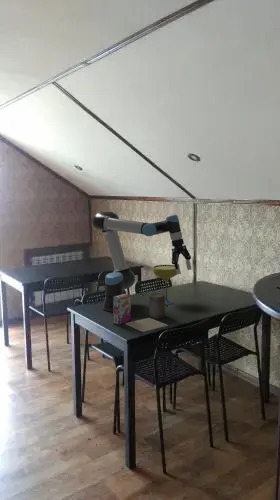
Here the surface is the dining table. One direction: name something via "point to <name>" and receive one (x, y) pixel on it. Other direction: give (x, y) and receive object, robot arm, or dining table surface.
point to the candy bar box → (121, 309)
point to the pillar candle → (157, 305)
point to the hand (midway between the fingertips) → (184, 272)
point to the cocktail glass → (165, 276)
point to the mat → (146, 324)
